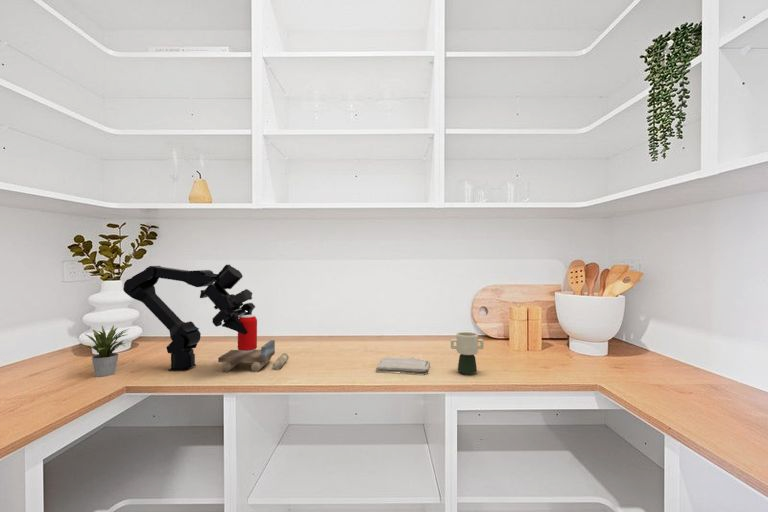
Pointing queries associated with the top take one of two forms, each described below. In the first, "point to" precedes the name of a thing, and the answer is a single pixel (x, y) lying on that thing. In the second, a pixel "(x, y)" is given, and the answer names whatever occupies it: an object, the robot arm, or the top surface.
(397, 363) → the washcloth
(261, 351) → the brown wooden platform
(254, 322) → the beverage can
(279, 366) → the roller
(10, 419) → the top surface
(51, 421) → the top surface
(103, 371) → the house plant
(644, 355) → the top surface
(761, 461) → the top surface
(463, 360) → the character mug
